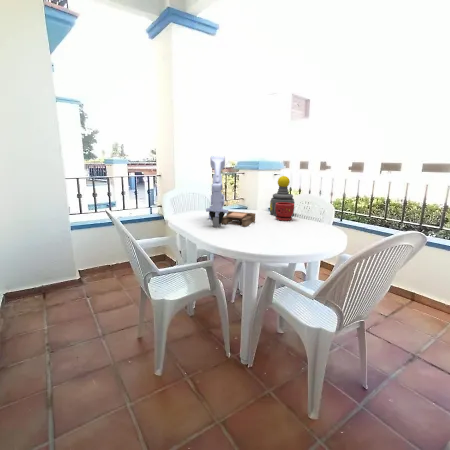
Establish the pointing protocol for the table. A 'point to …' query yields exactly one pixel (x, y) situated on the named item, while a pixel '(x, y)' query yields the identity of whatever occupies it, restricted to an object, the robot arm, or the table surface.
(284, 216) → the plant pot
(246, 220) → the frame
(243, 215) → the trapdoor
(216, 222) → the stone
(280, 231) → the table surface
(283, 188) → the decorative lamp
